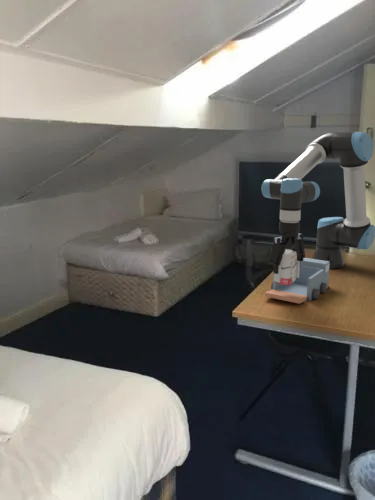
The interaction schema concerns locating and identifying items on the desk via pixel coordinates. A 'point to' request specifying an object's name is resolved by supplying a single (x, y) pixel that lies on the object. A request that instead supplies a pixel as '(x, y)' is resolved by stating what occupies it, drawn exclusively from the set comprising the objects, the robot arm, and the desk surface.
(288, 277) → the ink box
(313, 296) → the pickup bed
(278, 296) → the tailgate
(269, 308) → the desk surface
